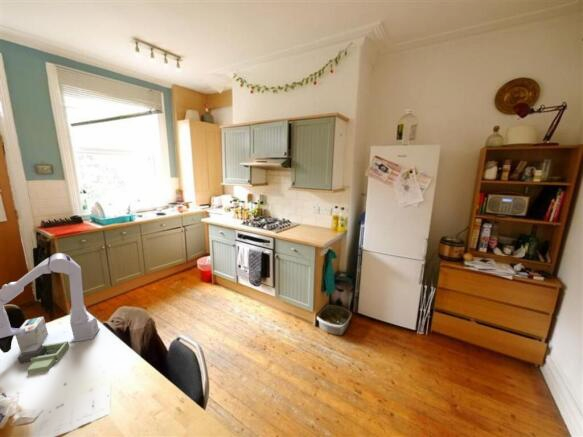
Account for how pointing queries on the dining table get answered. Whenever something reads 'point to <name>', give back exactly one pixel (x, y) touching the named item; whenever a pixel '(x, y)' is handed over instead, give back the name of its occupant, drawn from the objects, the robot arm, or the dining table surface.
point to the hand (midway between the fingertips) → (7, 350)
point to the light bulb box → (32, 333)
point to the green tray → (48, 357)
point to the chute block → (31, 353)
